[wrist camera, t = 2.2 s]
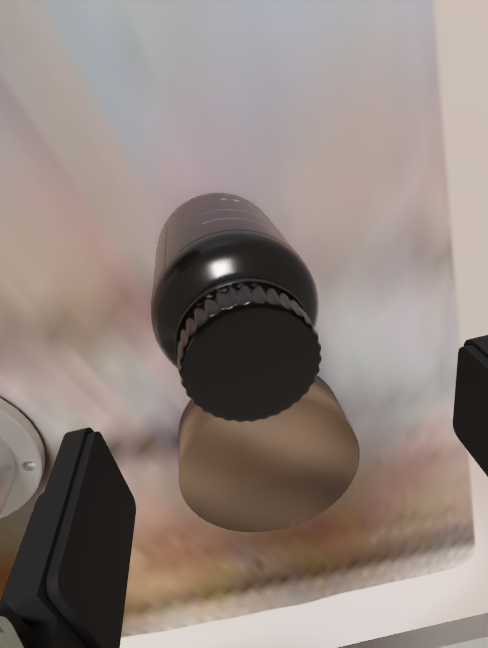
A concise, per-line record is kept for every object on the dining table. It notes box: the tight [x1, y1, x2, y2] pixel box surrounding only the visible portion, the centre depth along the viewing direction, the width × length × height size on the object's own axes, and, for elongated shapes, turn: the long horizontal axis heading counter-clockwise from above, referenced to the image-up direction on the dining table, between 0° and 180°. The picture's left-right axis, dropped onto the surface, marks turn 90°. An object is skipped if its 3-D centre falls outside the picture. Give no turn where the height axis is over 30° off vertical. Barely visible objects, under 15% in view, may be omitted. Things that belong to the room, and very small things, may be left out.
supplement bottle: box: [151, 193, 321, 422], centre depth 19 cm, size 7×7×12 cm
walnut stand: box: [179, 375, 359, 532], centre depth 29 cm, size 12×12×4 cm
